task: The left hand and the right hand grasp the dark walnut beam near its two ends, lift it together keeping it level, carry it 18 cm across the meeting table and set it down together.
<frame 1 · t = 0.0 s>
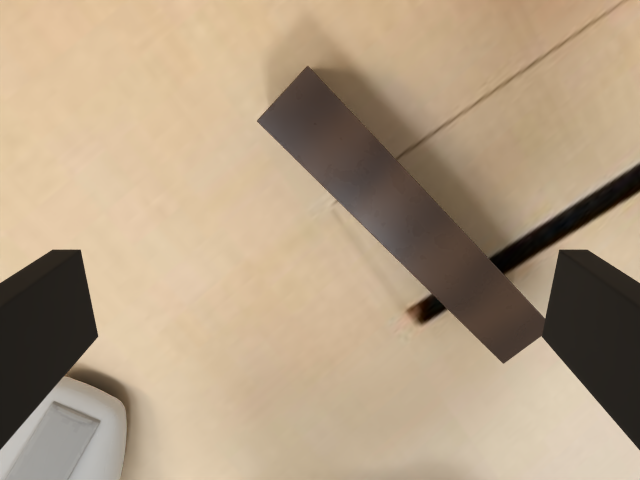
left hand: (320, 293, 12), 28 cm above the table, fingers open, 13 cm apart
beam: (399, 204, 40), on the table
projector: (61, 448, 50), on the table
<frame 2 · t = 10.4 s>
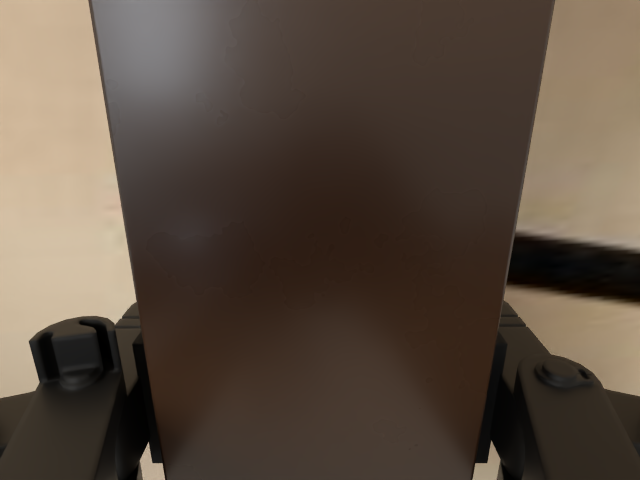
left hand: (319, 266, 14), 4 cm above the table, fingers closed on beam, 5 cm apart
when the left hand's fingers open (0 cm above the table, at t = 14.9 s): beam stays where it is, on the table.
when the right hand's fingers open (0 cm above the table, at t = 14.9 s): beam stays where it is, on the table.
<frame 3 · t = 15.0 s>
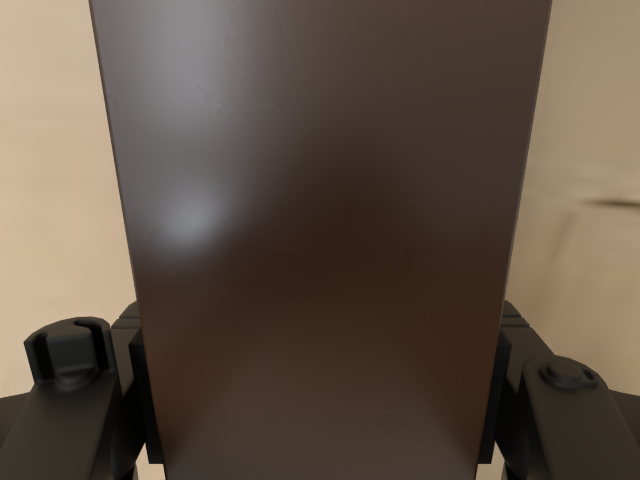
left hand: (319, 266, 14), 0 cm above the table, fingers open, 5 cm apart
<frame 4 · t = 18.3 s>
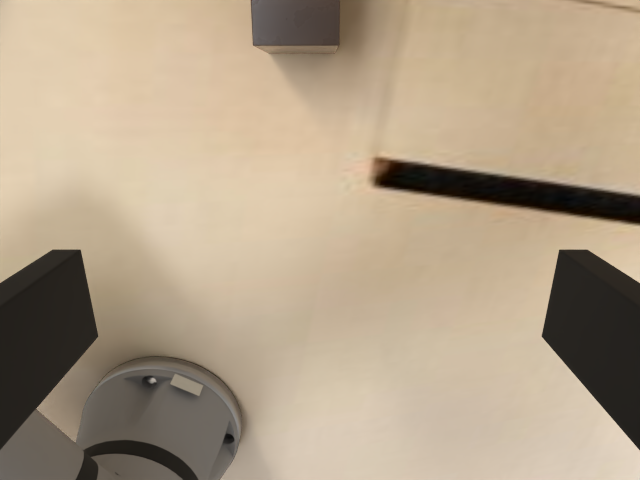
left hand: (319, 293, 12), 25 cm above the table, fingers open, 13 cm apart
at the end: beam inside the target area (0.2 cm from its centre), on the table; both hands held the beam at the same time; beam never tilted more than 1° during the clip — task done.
